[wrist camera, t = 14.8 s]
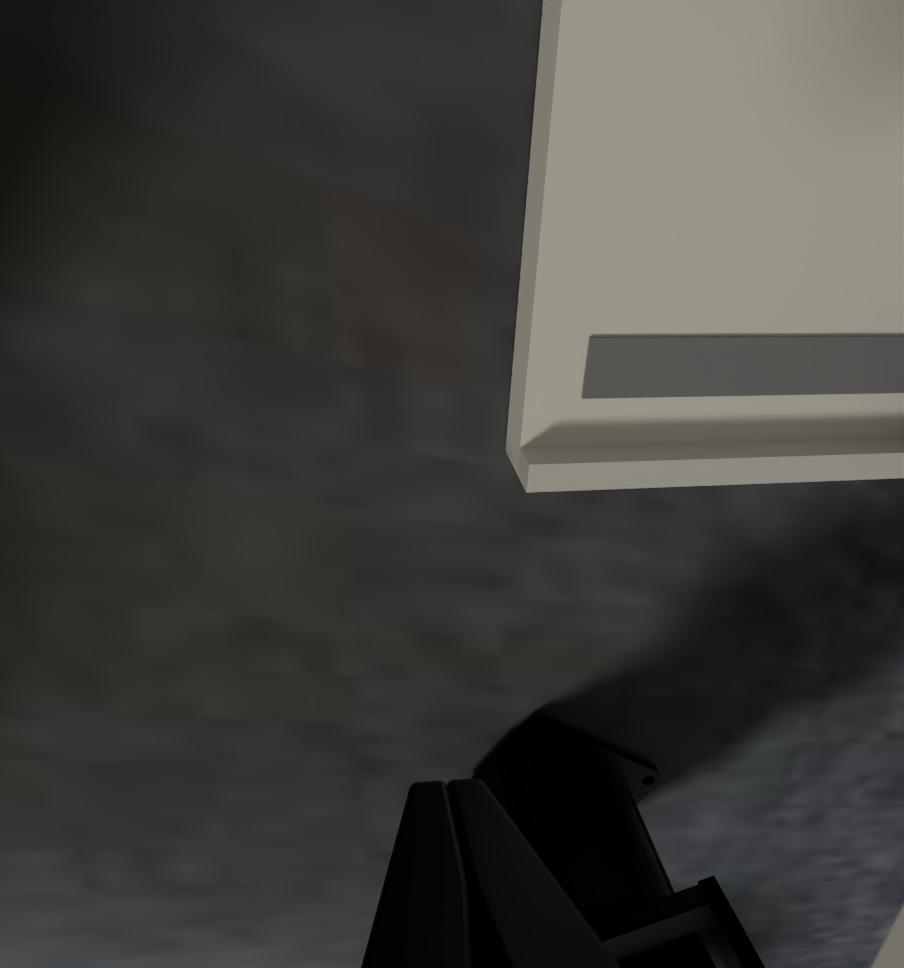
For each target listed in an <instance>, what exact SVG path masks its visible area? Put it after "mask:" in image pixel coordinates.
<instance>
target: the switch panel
mask: <svg viewBox="0 0 904 968" xmlns="http://www.w3.org/2000/svg"><path fill="white" fill-rule="evenodd" d="M506 453H507V455H508V457H509V459H510V461H511V463H512V465H513V467H514V469H515V471H516V473H517V475H518V477H519V479H520V481H521V483H522V485H523V487H524V489H525V491H526V492H552V491H578V490H604V489H631V488H657V487H684V486H710V485H736V484H763V483H789V482H815V481H842V480H868V479H894V478H904V0H543V10H542V22H541V33H540V45H539V57H538V69H537V81H536V93H535V105H534V117H533V129H532V141H531V153H530V165H529V177H528V189H527V201H526V213H525V225H524V237H523V249H522V260H521V272H520V284H519V296H518V308H517V320H516V332H515V344H514V356H513V368H512V380H511V392H510V404H509V416H508V428H507V440H506Z"/></svg>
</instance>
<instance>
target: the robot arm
mask: <svg viewBox="0 0 904 968" xmlns="http://www.w3.org/2000/svg"><path fill="white" fill-rule="evenodd" d="M541 729H542V730H541ZM538 730H540V731H538ZM660 780H661V776H660V773H659V771H658V769H657V767H656V766H655V765H654V764H652V763H650V762H648V761H646V760H643V759H641V758H639V757H637V756H634V755H632V754H630V753H628V752H625V751H623V750H621V749H619V748H616V747H614V746H612V745H610V744H607V743H605V742H603V741H601V740H598V739H596V738H594V737H591V736H589V735H587V734H585V733H582V732H580V731H578V730H576V729H573V728H571V727H569V726H567V725H564V724H562V723H560V722H558V721H555V720H553V719H551V718H549V717H546V716H536V717H534V718H532V719H530V720H529V721H528V722H527V723H526V724H525V725H524V726H523V727H522V728H521V729H520V730H519V731H518V733H517V734H516V735H515V736H514V737H513V738H512V739H511V740H510V741H509V742H508V743H507V744H506V745H505V746H504V747H503V749H502V750H501V751H500V752H499V753H498V754H497V755H496V756H495V757H494V758H493V759H492V760H491V761H490V762H489V764H488V765H487V766H486V767H485V768H484V769H483V770H482V771H481V772H480V773H479V774H478V775H477V776H476V777H475V778H474V779H461V780H452V781H449V782H448V784H447V786H446V784H445V783H444V782H442V781H430V782H416V783H413V784H412V785H411V787H410V789H409V792H408V796H407V800H406V803H405V807H404V811H403V814H402V818H401V822H400V825H399V829H398V833H397V837H396V840H395V844H394V848H393V851H392V855H391V859H390V863H389V866H388V870H387V874H386V877H385V881H384V885H383V888H382V892H381V896H380V900H379V903H378V907H377V911H376V914H375V918H374V922H373V926H372V929H371V933H370V937H369V940H368V944H367V948H366V952H365V955H364V959H363V963H362V966H361V968H765V967H764V965H763V963H762V961H761V959H760V958H759V956H758V954H757V952H756V950H755V949H754V947H753V945H752V943H751V941H750V940H749V938H748V936H747V934H746V933H745V931H744V929H743V927H742V925H741V924H740V922H739V920H738V918H737V916H736V915H735V913H734V911H733V909H732V907H731V906H730V904H729V902H728V900H727V898H726V897H725V895H724V893H723V891H722V889H721V888H720V886H719V884H718V882H717V880H716V879H715V877H714V876H711V877H708V878H705V879H703V880H700V881H698V885H696V886H693V887H690V888H688V889H685V890H682V891H679V892H676V893H675V892H674V890H673V888H672V885H671V883H670V881H669V878H668V876H667V874H666V872H665V869H664V867H663V865H662V862H661V860H660V858H659V856H658V853H657V851H656V849H655V846H654V844H653V842H652V839H651V837H650V835H649V833H648V830H647V828H646V826H645V823H644V821H643V819H642V817H641V814H640V812H639V810H638V807H637V805H636V804H637V803H638V802H639V801H640V800H641V799H643V798H644V797H645V796H646V795H647V794H648V793H649V792H650V791H651V790H652V789H653V788H654V787H655V786H656V785H657V784H658V783H659V782H660Z"/></svg>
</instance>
